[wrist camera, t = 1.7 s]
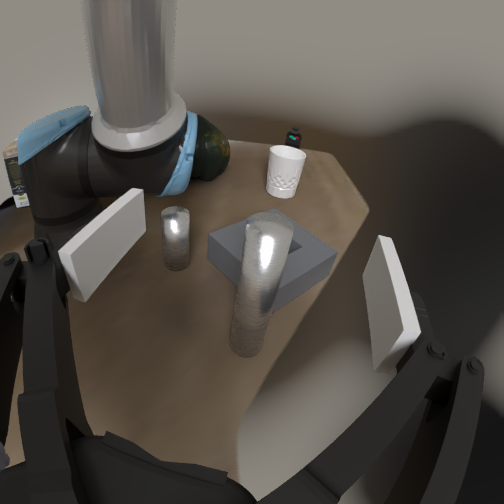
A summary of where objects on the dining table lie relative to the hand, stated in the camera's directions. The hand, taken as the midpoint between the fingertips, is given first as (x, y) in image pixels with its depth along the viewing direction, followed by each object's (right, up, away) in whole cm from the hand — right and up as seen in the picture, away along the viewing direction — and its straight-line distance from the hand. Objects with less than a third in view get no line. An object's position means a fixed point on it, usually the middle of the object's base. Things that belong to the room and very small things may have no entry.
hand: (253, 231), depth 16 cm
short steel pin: (-12, -3, +30) cm, 32 cm away
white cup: (+6, +13, +52) cm, 54 cm away
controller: (+10, +24, +66) cm, 71 cm away
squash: (-14, +18, +54) cm, 59 cm away
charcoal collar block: (+3, -4, +32) cm, 32 cm away
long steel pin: (-1, -13, +20) cm, 24 cm away
